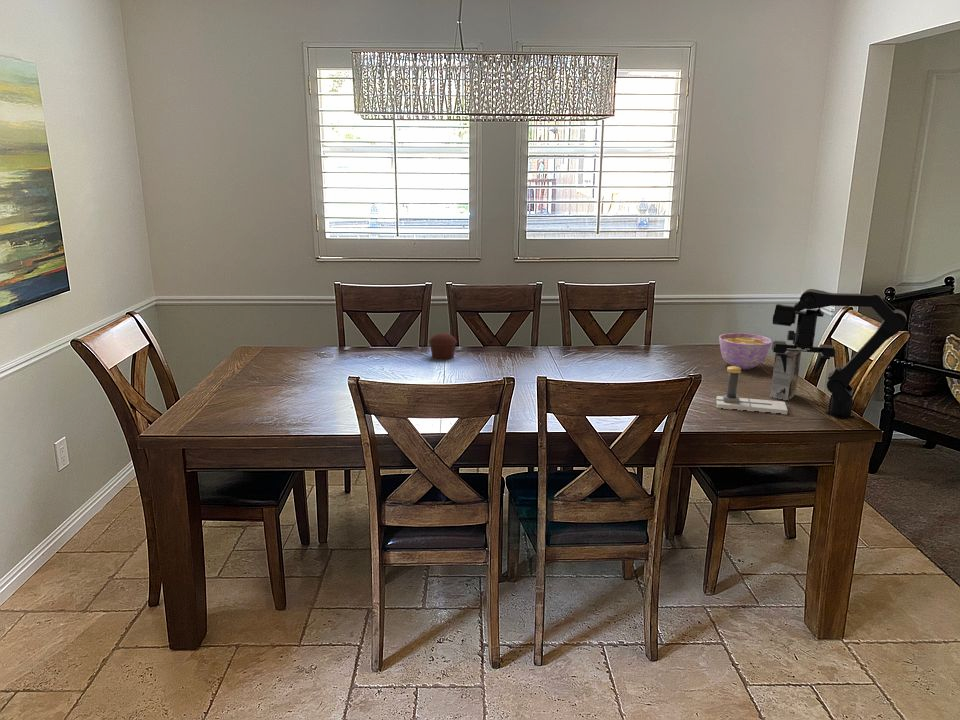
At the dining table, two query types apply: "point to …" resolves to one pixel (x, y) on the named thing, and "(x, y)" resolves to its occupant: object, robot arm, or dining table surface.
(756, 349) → the bowl of food
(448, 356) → the muffin
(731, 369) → the lever
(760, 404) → the fader console
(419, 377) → the dining table surface
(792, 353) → the coffee box
